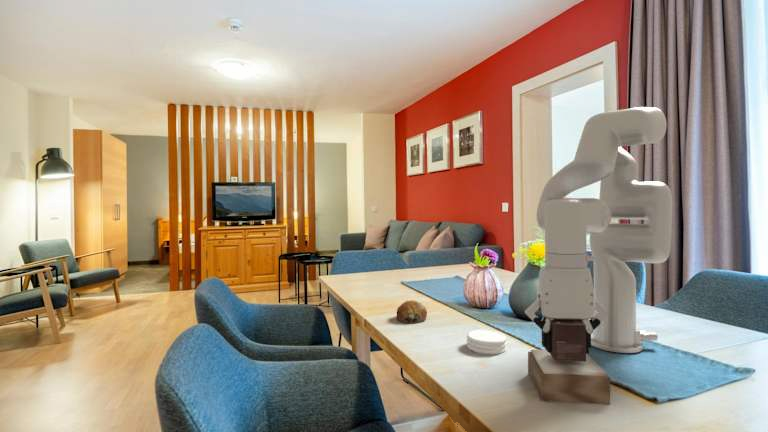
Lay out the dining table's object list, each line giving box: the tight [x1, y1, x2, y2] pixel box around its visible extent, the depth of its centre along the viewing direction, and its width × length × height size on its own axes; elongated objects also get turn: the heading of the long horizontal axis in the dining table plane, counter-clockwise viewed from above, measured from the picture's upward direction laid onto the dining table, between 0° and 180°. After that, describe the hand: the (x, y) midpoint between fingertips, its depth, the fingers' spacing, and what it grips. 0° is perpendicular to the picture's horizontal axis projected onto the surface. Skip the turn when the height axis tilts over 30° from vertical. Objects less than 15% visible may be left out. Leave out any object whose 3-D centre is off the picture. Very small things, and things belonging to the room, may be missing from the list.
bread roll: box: [396, 299, 428, 324], centre depth 132 cm, size 10×10×8 cm
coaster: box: [466, 329, 508, 356], centre depth 104 cm, size 10×10×4 cm
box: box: [550, 319, 586, 362], centre depth 80 cm, size 6×6×7 cm
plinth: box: [527, 349, 611, 405], centre depth 81 cm, size 12×12×6 cm
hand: (565, 349), depth 81 cm, fingers closed on box, 6 cm apart
